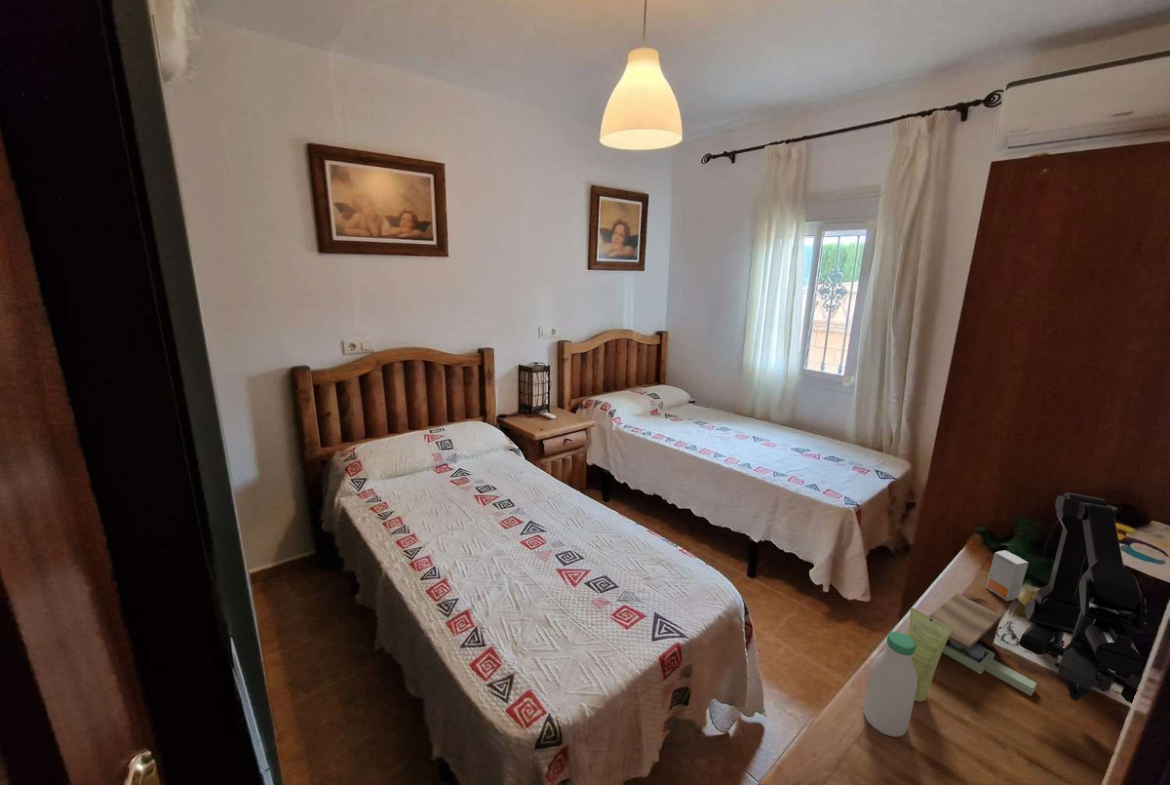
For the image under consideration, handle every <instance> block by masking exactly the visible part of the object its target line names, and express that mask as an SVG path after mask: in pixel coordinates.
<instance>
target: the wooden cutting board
mask: <svg viewBox="0 0 1170 785" xmlns="http://www.w3.org/2000/svg"><path fill="white" fill-rule="evenodd" d="M928 616H929V617H931V618H932V619H934V620H936V621H938V622H940V623H942V624H944V625H946V626H947V627H949V628H951V629H953V630H952V633H951V634H950V636H949V638H948V640H950V641H952V642H954V643H955V644H957V645H959V646H961V647H963V648H964V649H966V650H969V649H970V648H971V647H972V646H973V645H974V644H975V643H977V642H978V641H979V642H982V643H983V644H986V645H987V646H988V647H991V648H992V647H993V646H994V643H995V639H996V636H997V632H998V630H999V625H1000V622H1001V619H1002V615H1001V614H999V613H997V612H996V611H993V610H992V609H989V608H987V607H986V606H983V605H981V604H979V603H977V602H975V601H974V600H971V599H968V598H967V597H965V596H962V595H960V594H958V593H956V594H955V595H954V596H952V597H951V598H950V599H948V600H947V601H945V603H943V604H942V605H941V606H939V608H937V609H936V610H935V611H933V612H931V614H930V615H928Z"/></svg>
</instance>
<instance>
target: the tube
mask: <svg viewBox="0 0 1170 785" xmlns="http://www.w3.org/2000/svg"><path fill="white" fill-rule="evenodd" d="M909 615H910V616H909V627H908V633H907V634H908V635H907V636H909V637H910V638H911V639H912V640H913V641H914V642H915V645H916V649H915V652H914V656H913V657H912V662H913V666H914V668H915V671H916V675H917V689H916V694H915V699H914V702H924V701H926V700H927V697H928V693H929V690H930V687H931V685H932V680H933V677H934V675H935V672H936V669H937V666H938V664H939V661H940V660H941V659H940V658H941V656H942V653H943V652H942V651H943V649H944V646H945V644H947V643H948V642H947V640H948V638H949V636H950V634H951V633H952V630H953V629H951V628H949V627H947V626H946V625H944V624H942V623H940V622H938V621H936V620H934V619H932V618H931V617H929V616H930V615H927V614H925V613H922V612H921V611H920V610H917V609H915V608H914V607H910V612H909ZM946 642H947V643H946Z"/></svg>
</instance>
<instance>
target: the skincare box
mask: <svg viewBox="0 0 1170 785" xmlns="http://www.w3.org/2000/svg"><path fill="white" fill-rule="evenodd" d="M1028 567H1029V562H1028V561H1026V559H1023V558H1021V557H1020V556H1018V555H1016V554H1014V553H1011V552H1010V551H1008V550H1006V549H1005V550H999V551H996V552H994V555H993V558H992V562H991V566H990V570H989V572H988V575H987V576H988V577H987V581H986V584H985V589H987V590H989V591H990V592H992V593H993V594H995V595H997V596H999V597H1000V598H1001V599H1003V600H1005V601H1006V602H1010V601H1015V600H1016V599H1015V598H1017V597H1018V598H1019V596H1020V592H1021V589H1022V585H1023V582H1024V579H1025V575H1026V572H1027V569H1028ZM1014 599H1015V600H1014Z"/></svg>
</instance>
